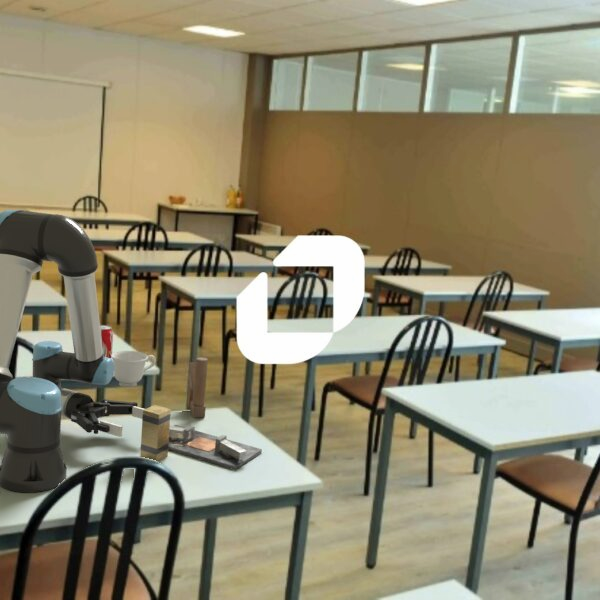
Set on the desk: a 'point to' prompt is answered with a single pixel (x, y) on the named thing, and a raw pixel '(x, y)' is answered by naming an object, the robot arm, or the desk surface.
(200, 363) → the wooden block
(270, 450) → the desk surface
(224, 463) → the base
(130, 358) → the teacup
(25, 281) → the robot arm
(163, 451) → the banded tan block
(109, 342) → the soda can
